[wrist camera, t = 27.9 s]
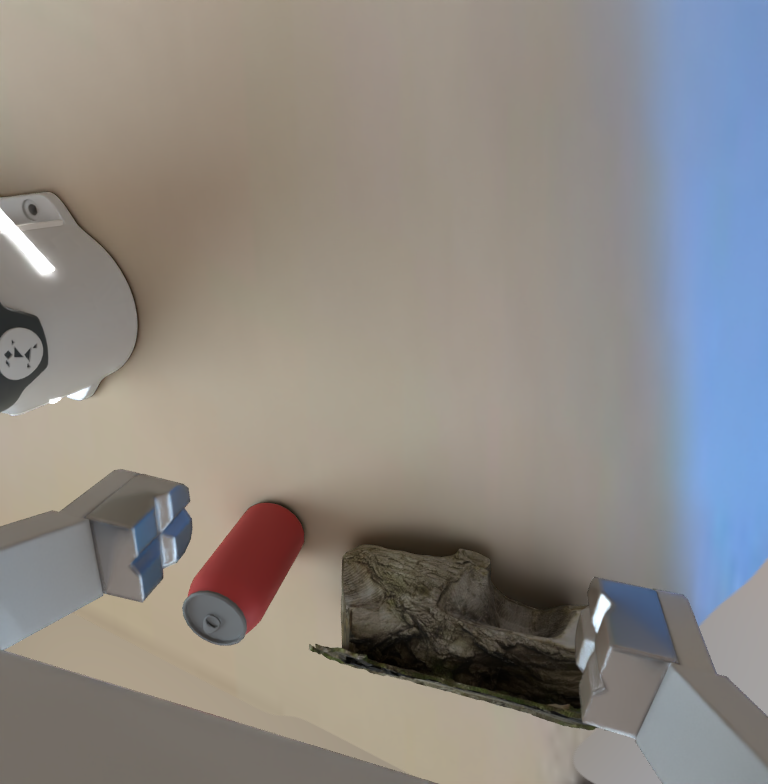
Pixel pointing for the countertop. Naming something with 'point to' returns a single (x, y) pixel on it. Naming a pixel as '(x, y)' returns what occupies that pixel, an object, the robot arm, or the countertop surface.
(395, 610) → the hollow geode rock
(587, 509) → the countertop surface
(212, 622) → the beer can
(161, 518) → the robot arm
